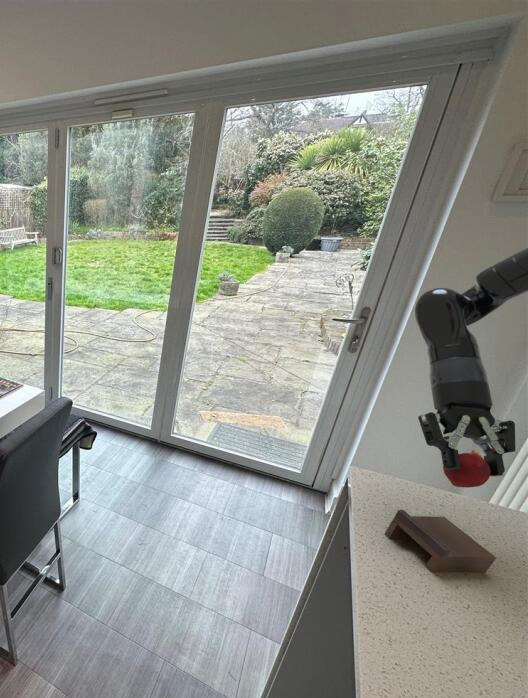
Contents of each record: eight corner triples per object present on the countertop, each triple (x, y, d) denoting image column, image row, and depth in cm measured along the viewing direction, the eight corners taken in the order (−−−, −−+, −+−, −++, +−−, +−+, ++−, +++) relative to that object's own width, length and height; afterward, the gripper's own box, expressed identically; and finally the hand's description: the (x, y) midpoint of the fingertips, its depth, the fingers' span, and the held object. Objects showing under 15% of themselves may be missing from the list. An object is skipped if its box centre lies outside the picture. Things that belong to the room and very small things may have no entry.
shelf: (432, 534, 84) (448, 510, 81) (482, 577, 75) (502, 551, 72) (384, 533, 84) (398, 509, 81) (427, 575, 75) (445, 550, 72)
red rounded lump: (481, 489, 76) (505, 454, 72) (473, 501, 73) (497, 465, 69) (440, 472, 80) (460, 438, 77) (430, 483, 77) (451, 448, 74)
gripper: (431, 374, 76) (445, 464, 71) (523, 382, 74) (545, 476, 68) (401, 387, 83) (412, 470, 78) (484, 395, 81) (501, 481, 76)
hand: (474, 472), depth 73 cm, fingers closed on red rounded lump, 5 cm apart
